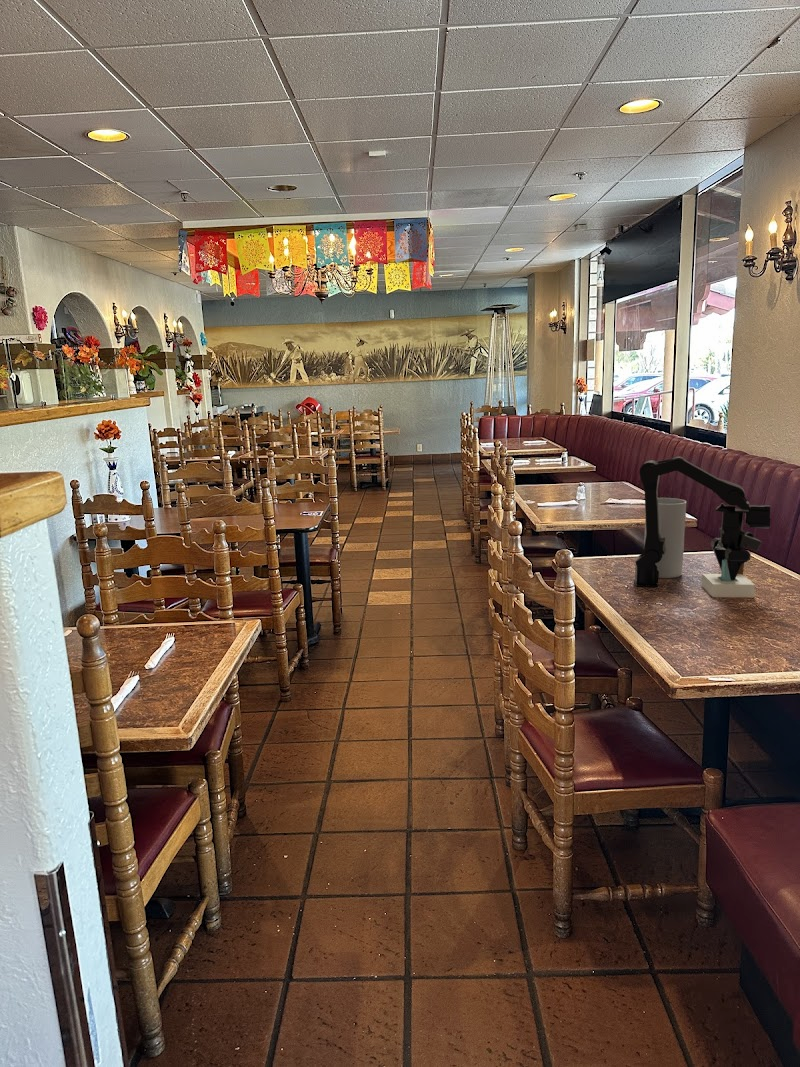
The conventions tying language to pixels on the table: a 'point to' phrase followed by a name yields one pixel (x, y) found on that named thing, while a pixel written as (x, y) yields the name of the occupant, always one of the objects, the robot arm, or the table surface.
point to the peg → (725, 572)
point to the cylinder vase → (671, 536)
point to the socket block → (728, 586)
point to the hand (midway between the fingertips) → (728, 575)
